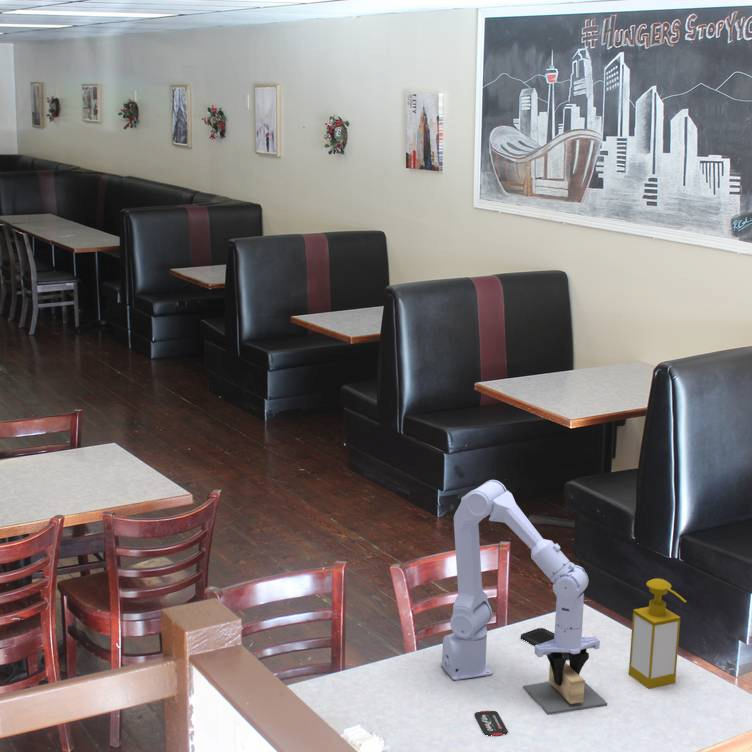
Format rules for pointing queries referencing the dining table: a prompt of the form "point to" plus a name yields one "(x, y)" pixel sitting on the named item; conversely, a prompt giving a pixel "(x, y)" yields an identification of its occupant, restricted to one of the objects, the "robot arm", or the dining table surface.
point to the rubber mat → (562, 698)
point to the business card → (490, 723)
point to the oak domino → (569, 685)
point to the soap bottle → (655, 639)
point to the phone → (541, 638)
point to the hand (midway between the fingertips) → (565, 682)
